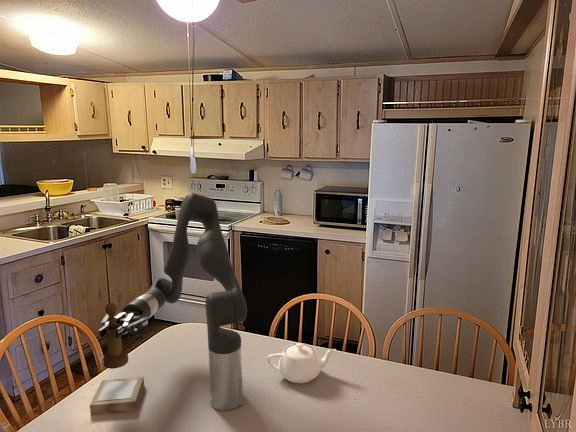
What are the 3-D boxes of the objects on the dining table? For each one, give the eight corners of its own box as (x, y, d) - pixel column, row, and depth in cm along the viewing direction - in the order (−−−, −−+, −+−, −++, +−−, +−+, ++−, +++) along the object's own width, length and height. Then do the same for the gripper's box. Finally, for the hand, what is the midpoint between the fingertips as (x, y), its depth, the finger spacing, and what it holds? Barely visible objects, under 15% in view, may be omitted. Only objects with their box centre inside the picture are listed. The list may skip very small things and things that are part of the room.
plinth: (144, 385, 128) (143, 376, 127) (136, 410, 116) (135, 400, 116) (103, 389, 126) (102, 379, 125) (90, 415, 114) (89, 404, 114)
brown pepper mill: (132, 357, 122) (127, 299, 118) (121, 369, 116) (116, 309, 112) (110, 356, 123) (105, 298, 119) (99, 368, 116) (92, 308, 113)
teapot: (268, 389, 126) (267, 356, 124) (267, 364, 140) (266, 335, 138) (339, 386, 128) (340, 354, 126) (331, 362, 141) (332, 333, 139)
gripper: (119, 296, 131) (82, 320, 115) (160, 300, 129) (129, 325, 112) (121, 318, 133) (85, 345, 116) (162, 322, 130) (131, 350, 114)
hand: (107, 335), depth 114 cm, fingers closed on brown pepper mill, 4 cm apart
